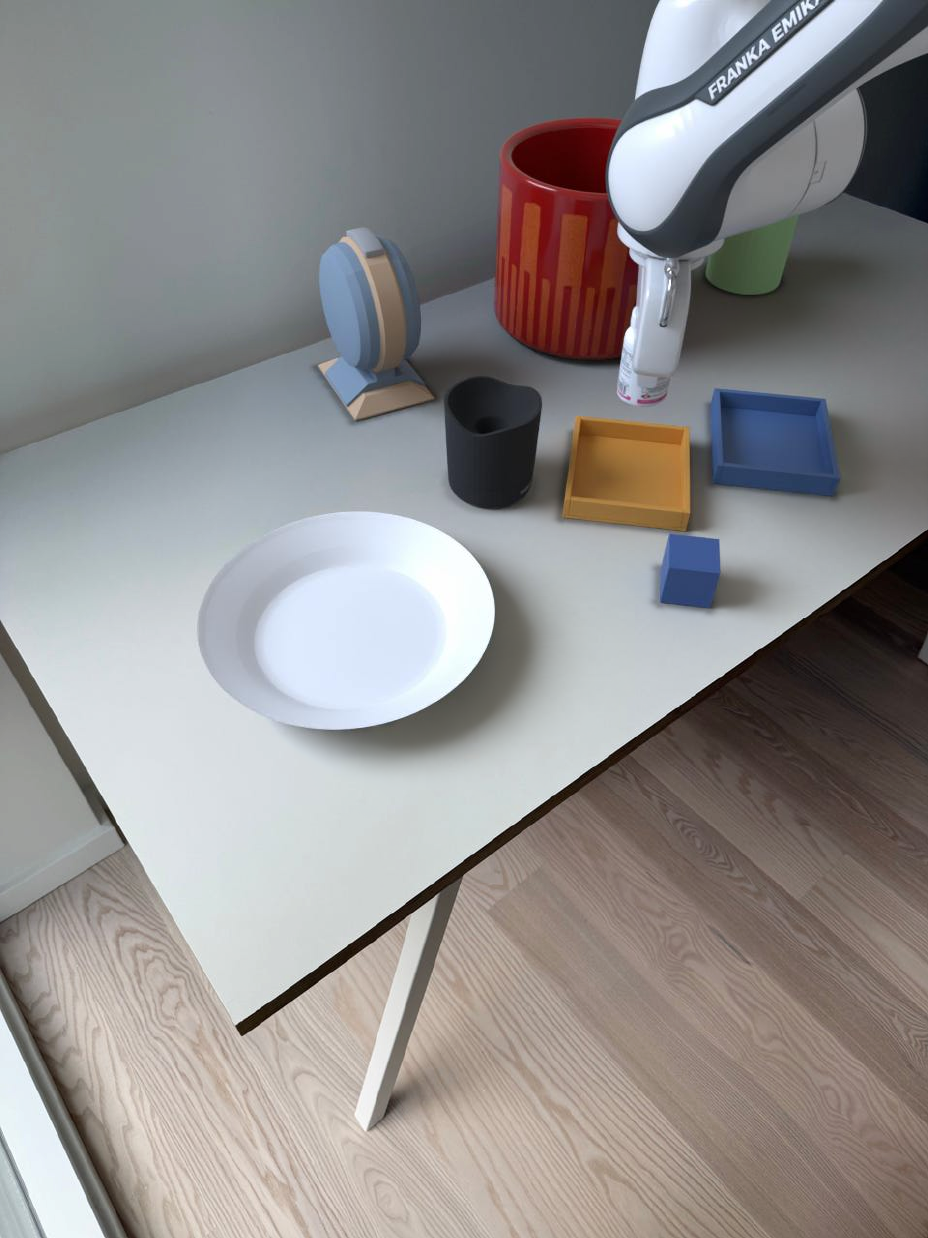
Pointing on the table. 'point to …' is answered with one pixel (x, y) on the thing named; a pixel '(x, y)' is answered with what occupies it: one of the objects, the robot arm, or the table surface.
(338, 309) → the alarm clock
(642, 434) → the amber tray
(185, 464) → the table surface
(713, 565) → the blue block
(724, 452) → the blue tray
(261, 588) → the white plate
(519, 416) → the pen holder
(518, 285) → the planter
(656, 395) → the pill bottle
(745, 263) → the mug
